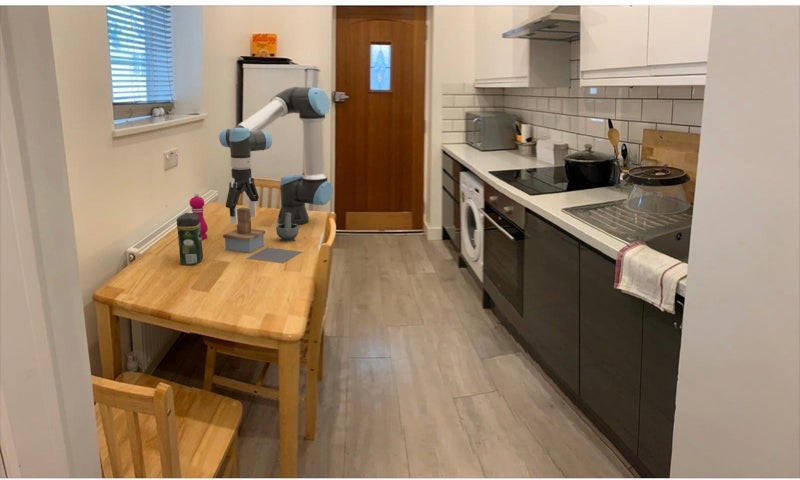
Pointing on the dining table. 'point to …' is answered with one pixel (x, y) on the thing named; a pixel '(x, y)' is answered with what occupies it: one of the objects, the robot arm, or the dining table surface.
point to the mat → (274, 255)
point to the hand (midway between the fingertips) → (243, 220)
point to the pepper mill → (199, 213)
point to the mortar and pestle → (287, 229)
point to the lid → (244, 227)
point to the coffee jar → (189, 239)
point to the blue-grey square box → (244, 244)
